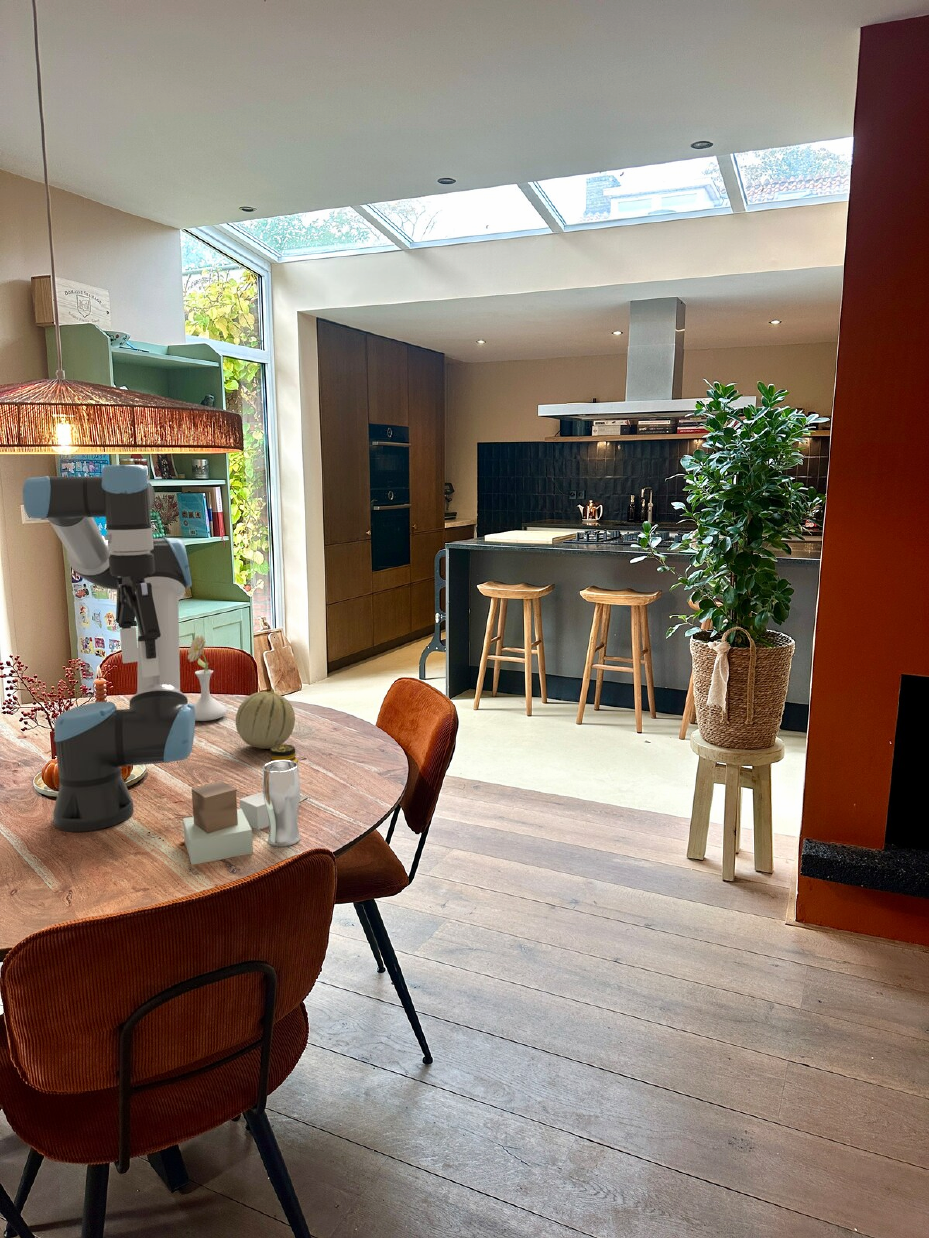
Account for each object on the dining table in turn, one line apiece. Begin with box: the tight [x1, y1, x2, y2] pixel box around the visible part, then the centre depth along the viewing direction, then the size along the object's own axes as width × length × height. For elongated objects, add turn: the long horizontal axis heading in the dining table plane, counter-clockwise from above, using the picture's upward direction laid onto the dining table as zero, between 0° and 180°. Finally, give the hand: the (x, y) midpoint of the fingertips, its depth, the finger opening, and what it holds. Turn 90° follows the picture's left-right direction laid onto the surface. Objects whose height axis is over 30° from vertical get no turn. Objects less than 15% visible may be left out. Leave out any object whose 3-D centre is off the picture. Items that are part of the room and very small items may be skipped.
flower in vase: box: [187, 634, 228, 722], centre depth 239 cm, size 13×11×25 cm
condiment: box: [268, 744, 309, 803], centre depth 181 cm, size 7×8×12 cm
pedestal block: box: [182, 808, 254, 866], centre depth 159 cm, size 11×11×5 cm
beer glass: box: [262, 760, 301, 848], centre depth 161 cm, size 7×7×15 cm
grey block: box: [239, 790, 270, 831], centre depth 171 cm, size 6×6×5 cm
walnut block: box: [191, 780, 238, 834], centre depth 158 cm, size 6×6×7 cm
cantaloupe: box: [235, 688, 296, 750], centre depth 215 cm, size 15×15×15 cm
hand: (140, 668), depth 154 cm, fingers open, 13 cm apart
